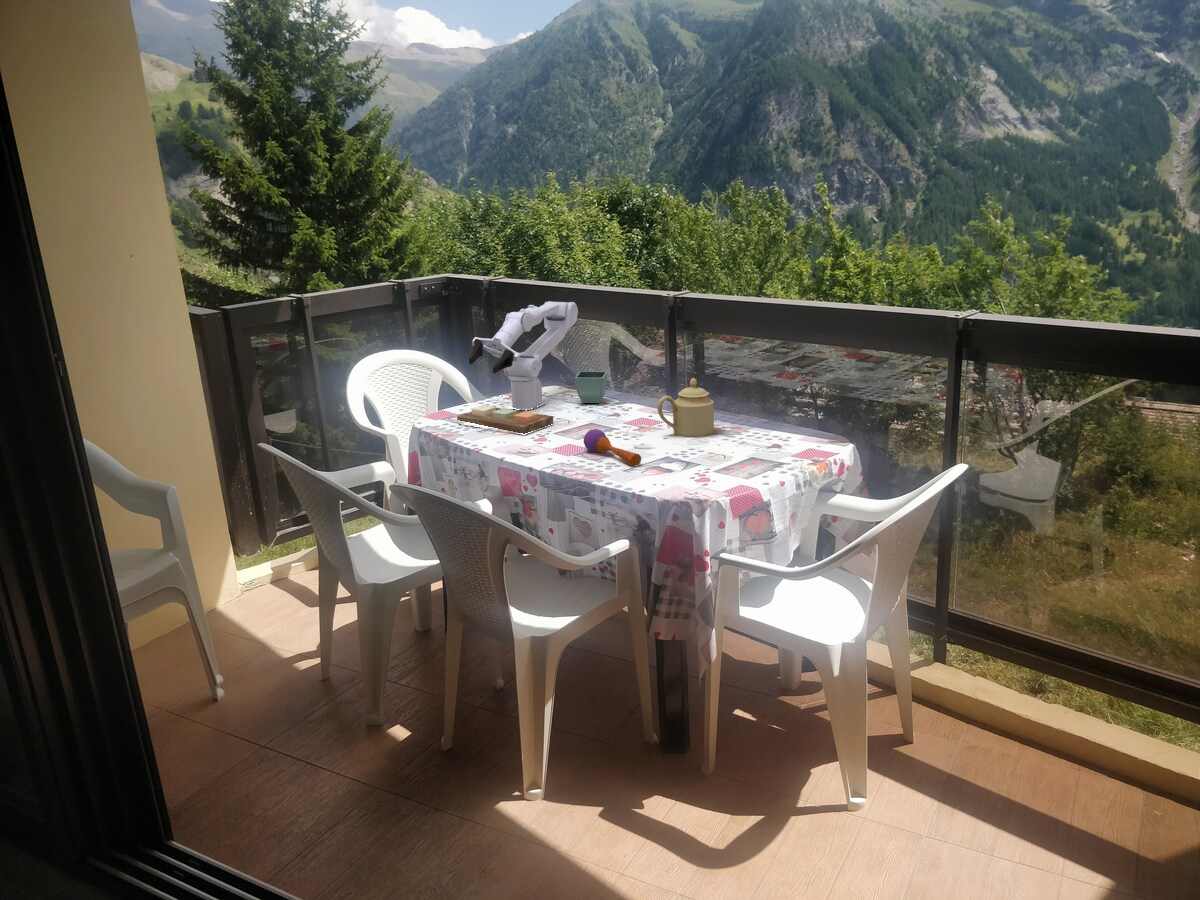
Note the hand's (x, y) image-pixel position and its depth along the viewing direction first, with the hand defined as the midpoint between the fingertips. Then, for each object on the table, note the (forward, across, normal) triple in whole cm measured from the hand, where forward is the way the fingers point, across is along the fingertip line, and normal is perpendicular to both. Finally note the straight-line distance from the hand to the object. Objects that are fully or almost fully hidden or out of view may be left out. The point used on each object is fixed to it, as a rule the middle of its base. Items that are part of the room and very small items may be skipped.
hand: (482, 366), depth 270 cm
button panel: (+6, +11, +13) cm, 18 cm away
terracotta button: (+6, +17, +9) cm, 20 cm away
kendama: (+21, +49, -8) cm, 54 cm away
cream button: (+4, +3, +15) cm, 16 cm away
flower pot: (-23, +26, +22) cm, 41 cm away
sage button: (+5, +10, +12) cm, 17 cm away
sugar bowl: (-3, +62, -1) cm, 62 cm away
